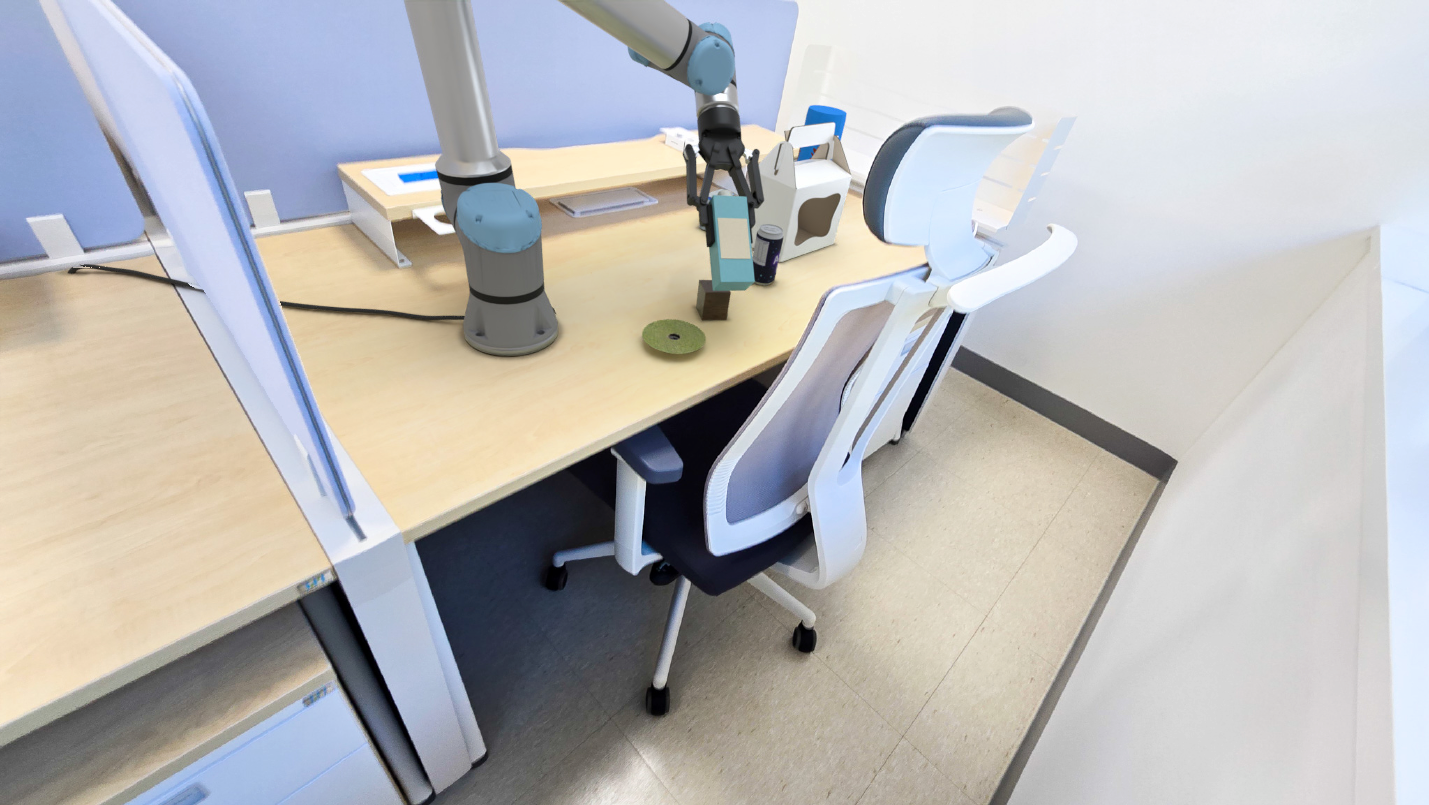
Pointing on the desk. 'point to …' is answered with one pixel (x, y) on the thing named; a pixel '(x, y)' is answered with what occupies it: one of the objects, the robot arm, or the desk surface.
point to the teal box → (731, 243)
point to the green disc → (673, 336)
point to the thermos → (822, 115)
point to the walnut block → (712, 302)
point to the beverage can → (767, 253)
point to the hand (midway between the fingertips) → (729, 244)
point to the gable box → (804, 190)
